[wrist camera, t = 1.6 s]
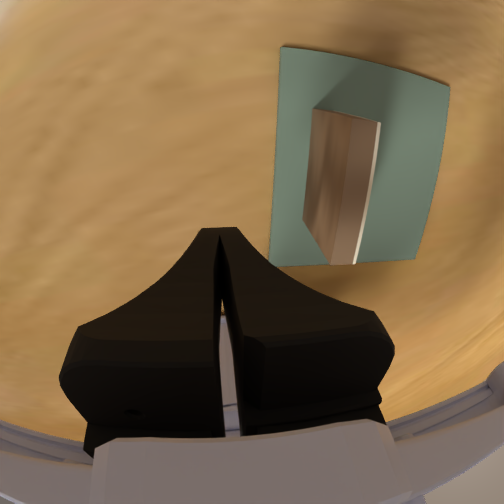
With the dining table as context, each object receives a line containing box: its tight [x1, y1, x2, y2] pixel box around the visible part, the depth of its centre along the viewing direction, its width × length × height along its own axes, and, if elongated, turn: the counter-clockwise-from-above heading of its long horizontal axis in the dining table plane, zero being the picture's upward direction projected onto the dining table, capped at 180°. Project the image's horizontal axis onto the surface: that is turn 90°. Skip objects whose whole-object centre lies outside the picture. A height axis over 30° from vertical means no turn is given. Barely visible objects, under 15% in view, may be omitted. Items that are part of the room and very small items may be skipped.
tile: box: [302, 108, 381, 265], centre depth 17 cm, size 8×2×6 cm, turn 178°
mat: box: [268, 47, 450, 267], centre depth 20 cm, size 16×14×1 cm
